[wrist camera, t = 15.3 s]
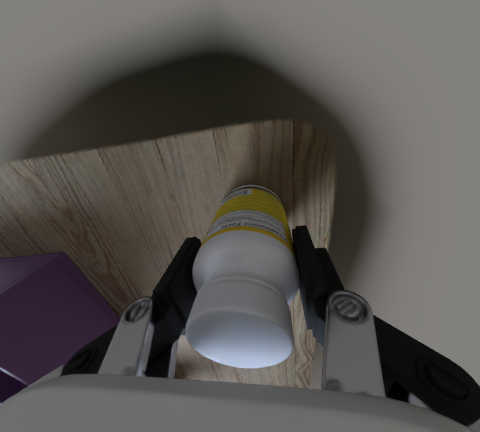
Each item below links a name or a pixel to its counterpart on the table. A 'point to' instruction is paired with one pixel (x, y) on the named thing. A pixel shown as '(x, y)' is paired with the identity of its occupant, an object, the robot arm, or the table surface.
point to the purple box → (45, 317)
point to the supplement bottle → (245, 282)
